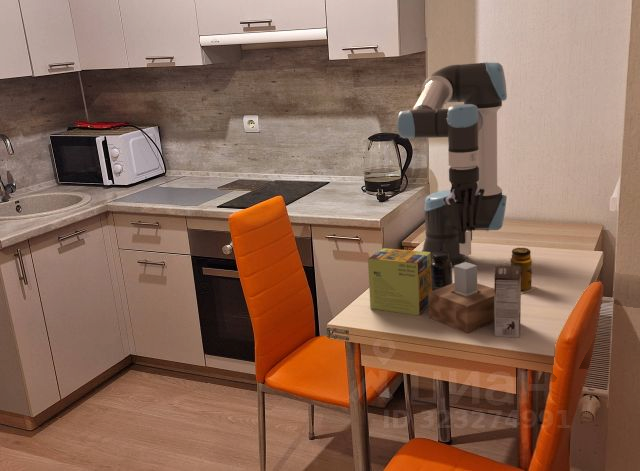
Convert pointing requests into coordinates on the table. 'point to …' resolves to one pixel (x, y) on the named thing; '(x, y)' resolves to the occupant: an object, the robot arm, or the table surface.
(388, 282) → the protein box
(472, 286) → the peg
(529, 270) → the condiment
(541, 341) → the table surface
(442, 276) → the supplement bottle
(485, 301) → the block
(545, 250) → the table surface
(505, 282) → the coffee box
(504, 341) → the table surface
